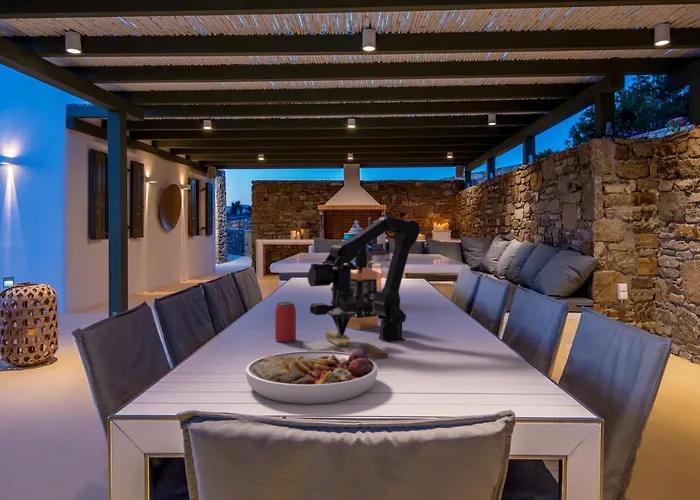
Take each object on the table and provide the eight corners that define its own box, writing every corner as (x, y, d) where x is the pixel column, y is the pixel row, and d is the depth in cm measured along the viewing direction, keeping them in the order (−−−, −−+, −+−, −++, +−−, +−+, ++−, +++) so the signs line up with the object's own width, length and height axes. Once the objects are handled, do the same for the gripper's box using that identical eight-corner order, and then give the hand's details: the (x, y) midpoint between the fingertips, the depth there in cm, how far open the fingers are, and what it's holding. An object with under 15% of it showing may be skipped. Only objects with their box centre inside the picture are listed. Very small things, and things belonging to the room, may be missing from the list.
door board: (371, 349, 159) (371, 338, 159) (388, 357, 149) (388, 345, 149) (314, 355, 152) (314, 343, 152) (327, 364, 142) (327, 351, 142)
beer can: (292, 343, 168) (292, 305, 167) (272, 342, 169) (272, 304, 169) (298, 338, 174) (298, 302, 174) (279, 337, 176) (279, 301, 175)
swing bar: (350, 346, 155) (350, 336, 155) (340, 347, 154) (340, 337, 154) (334, 337, 166) (334, 328, 166) (325, 338, 165) (325, 329, 165)
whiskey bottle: (380, 327, 194) (380, 239, 192) (358, 330, 188) (358, 239, 187) (363, 322, 202) (363, 238, 201) (341, 325, 197) (342, 238, 195)
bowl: (265, 417, 104) (264, 377, 103) (234, 377, 131) (233, 345, 131) (400, 398, 116) (401, 362, 115) (346, 364, 143) (346, 335, 143)
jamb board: (357, 342, 169) (357, 337, 169) (373, 350, 158) (373, 345, 158) (303, 347, 162) (302, 341, 162) (316, 356, 151) (316, 350, 151)
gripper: (322, 289, 153) (322, 343, 153) (380, 286, 160) (380, 338, 161) (309, 285, 163) (309, 335, 163) (365, 282, 170) (364, 331, 171)
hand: (341, 335), depth 164 cm, fingers closed
